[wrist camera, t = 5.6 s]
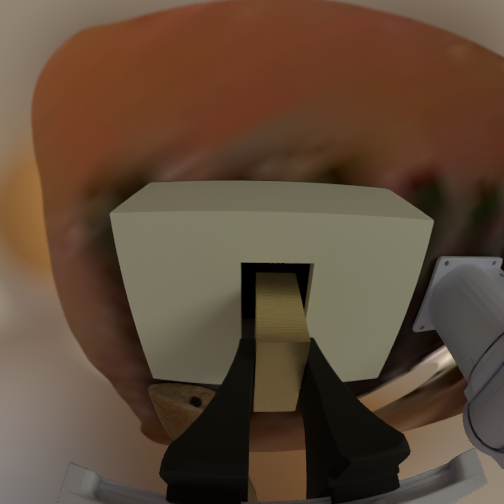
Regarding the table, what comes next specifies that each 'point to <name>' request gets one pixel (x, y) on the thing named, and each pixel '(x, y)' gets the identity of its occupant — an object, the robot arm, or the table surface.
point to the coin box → (266, 251)
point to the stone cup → (183, 410)
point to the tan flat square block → (279, 342)
